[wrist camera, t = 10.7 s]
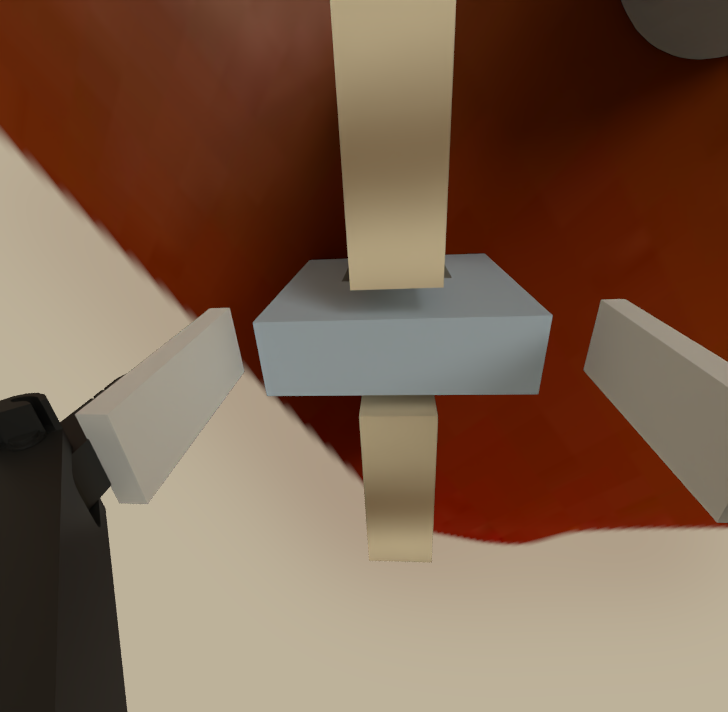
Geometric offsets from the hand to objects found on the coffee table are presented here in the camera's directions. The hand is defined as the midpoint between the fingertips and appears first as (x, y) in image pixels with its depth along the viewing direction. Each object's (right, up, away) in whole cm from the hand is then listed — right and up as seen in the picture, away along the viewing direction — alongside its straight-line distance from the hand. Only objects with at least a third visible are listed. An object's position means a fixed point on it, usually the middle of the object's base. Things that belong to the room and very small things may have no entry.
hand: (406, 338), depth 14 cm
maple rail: (0, +4, +8) cm, 9 cm away
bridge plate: (0, +4, +8) cm, 9 cm away
